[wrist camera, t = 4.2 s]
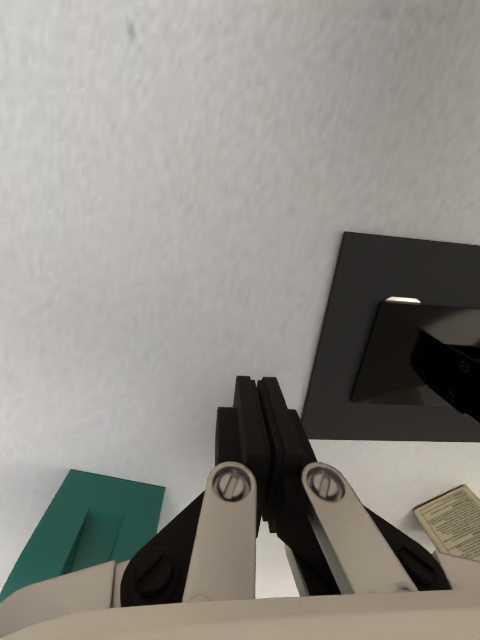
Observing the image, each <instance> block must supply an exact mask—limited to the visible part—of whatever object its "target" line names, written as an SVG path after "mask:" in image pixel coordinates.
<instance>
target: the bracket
mask: <svg viewBox="0 0 480 640" xmlns="http://www.w3.org/2000/svg"><path fill="white" fill-rule="evenodd" d="M164 492H165V488H164V487H159V486H154V485H149V484H143V483H138V482H133V481H128V480H123V479H117V478H112V477H107V476H102V475H96V474H91V473H86V472H81V471H75V470H70V471H69V473H68V475H67V477H66V478H65V480H64V482H63V483H62V485H61V487H60V488H59V490H58V492H57V494H56V495H55V497H54V499H53V500H52V502H51V504H50V505H49V507H48V509H47V511H46V512H45V514H44V516H43V517H42V519H41V521H40V522H39V524H38V526H37V527H36V529H35V531H34V533H33V534H32V536H31V538H30V539H29V541H28V543H27V544H26V546H25V548H24V550H23V551H22V553H21V555H20V557H19V559H18V560H17V562H16V564H15V566H14V568H13V570H12V572H11V573H10V575H9V577H8V579H7V581H6V583H5V585H4V587H3V589H2V591H1V593H0V603H1V602H2V601H4V600H5V599H6V598H7V597H9V596H10V595H11V594H12V593H14V592H15V591H17V590H19V589H21V588H24V587H26V586H28V585H31V584H34V583H38V582H41V581H45V580H48V579H51V578H55V577H58V576H62V575H65V574H69V573H72V572H75V571H79V570H82V569H86V568H89V567H93V566H96V565H99V564H103V563H106V562H110V561H113V560H115V564H118V563H121V562H124V561H128V560H131V559H132V558H133V556H134V555H135V554H136V553H137V552H138V551H139V550H140V549H141V548H142V547H143V546H144V545H145V544H147V543H148V542H149V541H150V540H151V539H152V538H153V537H154V536H155V535H156V532H157V527H158V522H159V517H160V512H161V507H162V502H163V497H164Z"/></svg>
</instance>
